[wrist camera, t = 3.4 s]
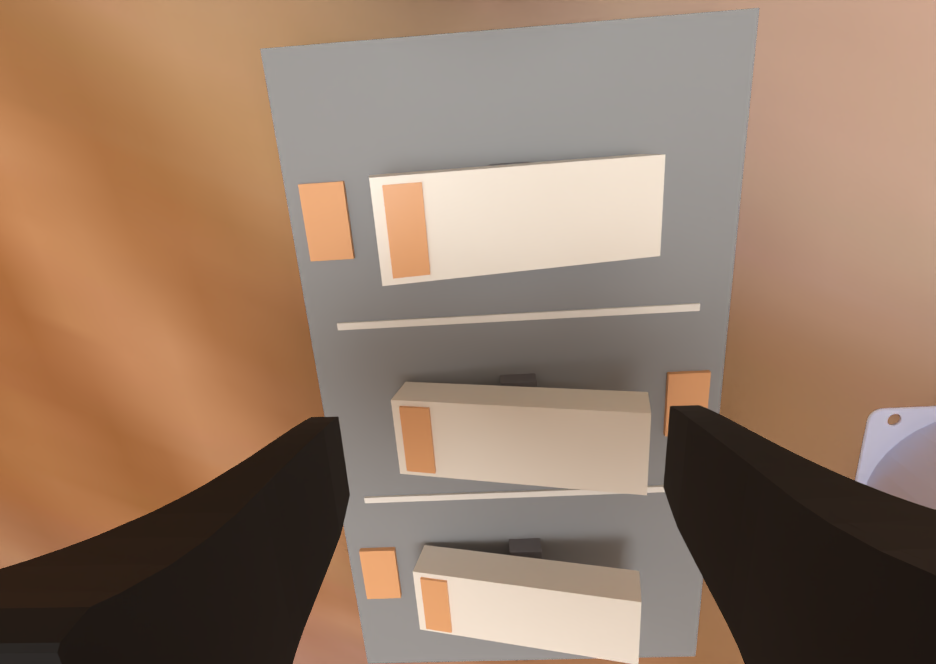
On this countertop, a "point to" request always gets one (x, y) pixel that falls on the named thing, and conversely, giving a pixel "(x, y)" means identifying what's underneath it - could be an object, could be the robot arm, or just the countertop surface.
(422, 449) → the rocker
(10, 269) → the countertop surface
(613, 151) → the panel
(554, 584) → the rocker
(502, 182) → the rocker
